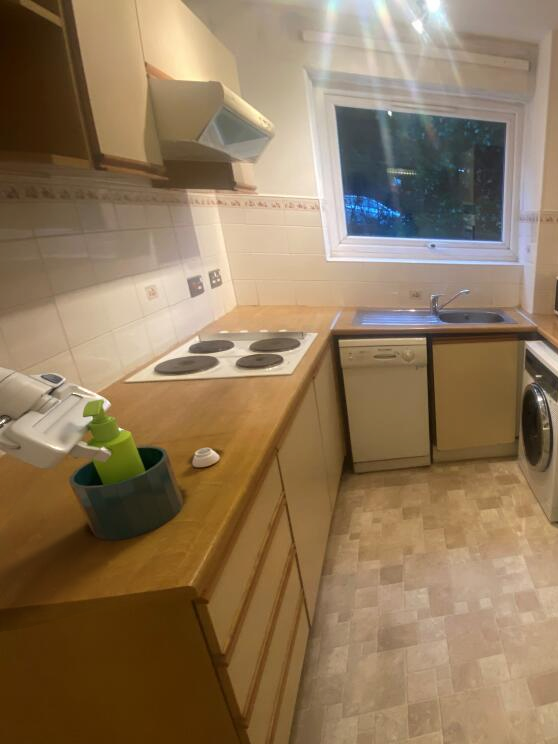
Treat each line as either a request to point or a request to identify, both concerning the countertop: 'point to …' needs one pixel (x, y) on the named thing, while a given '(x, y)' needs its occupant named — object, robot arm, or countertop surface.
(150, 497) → the canister
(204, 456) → the white bowl
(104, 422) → the soap dispenser
